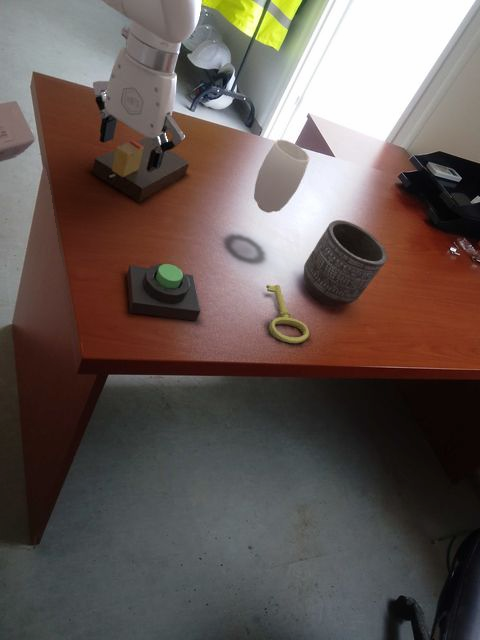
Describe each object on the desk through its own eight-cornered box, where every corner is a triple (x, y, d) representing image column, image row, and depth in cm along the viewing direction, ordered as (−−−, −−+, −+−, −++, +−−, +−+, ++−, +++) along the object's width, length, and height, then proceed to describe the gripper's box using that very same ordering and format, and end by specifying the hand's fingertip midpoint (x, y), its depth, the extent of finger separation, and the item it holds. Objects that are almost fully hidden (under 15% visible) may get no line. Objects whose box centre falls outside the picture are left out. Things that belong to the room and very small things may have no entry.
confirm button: (156, 287, 65) (159, 278, 64) (154, 270, 68) (157, 261, 66) (180, 291, 67) (184, 282, 66) (177, 274, 69) (181, 266, 68)
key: (273, 290, 83) (278, 282, 82) (310, 341, 78) (316, 333, 77) (242, 294, 79) (247, 285, 77) (280, 348, 74) (285, 340, 72)
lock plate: (130, 207, 82) (134, 191, 80) (83, 177, 82) (85, 161, 79) (185, 175, 97) (189, 161, 95) (145, 150, 97) (149, 136, 95)
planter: (309, 263, 95) (341, 212, 86) (357, 298, 94) (394, 249, 85) (285, 286, 85) (318, 232, 77) (338, 325, 84) (377, 274, 76)
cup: (220, 244, 86) (265, 141, 72) (239, 232, 91) (284, 134, 77) (250, 266, 85) (301, 167, 71) (268, 253, 90) (318, 158, 77)
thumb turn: (122, 177, 81) (128, 153, 78) (111, 170, 81) (116, 145, 78) (138, 169, 85) (144, 146, 82) (127, 163, 85) (132, 139, 82)
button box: (129, 313, 65) (135, 292, 62) (126, 275, 70) (132, 255, 67) (196, 321, 70) (204, 302, 67) (189, 285, 74) (196, 266, 72)
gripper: (88, 23, 67) (74, 133, 78) (188, 86, 67) (159, 187, 79) (118, 21, 72) (101, 124, 84) (210, 80, 73) (180, 174, 84)
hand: (129, 154), depth 81 cm, fingers open, 9 cm apart
